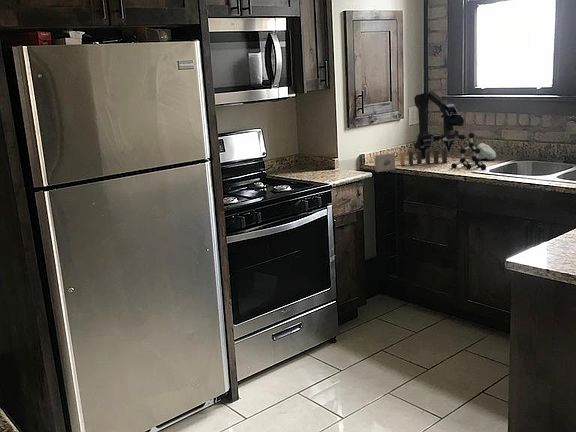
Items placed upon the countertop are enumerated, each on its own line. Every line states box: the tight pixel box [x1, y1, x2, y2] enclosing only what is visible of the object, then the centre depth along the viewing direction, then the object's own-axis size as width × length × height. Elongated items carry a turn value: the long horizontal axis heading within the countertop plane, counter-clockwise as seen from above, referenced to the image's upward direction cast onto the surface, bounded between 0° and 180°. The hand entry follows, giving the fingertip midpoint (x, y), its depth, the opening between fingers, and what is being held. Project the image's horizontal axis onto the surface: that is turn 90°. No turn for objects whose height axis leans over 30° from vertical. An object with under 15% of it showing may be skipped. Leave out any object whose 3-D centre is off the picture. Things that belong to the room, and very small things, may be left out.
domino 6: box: [441, 148, 448, 164], centre depth 374 cm, size 2×5×8 cm, turn 179°
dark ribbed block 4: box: [416, 149, 423, 165], centre depth 375 cm, size 2×5×8 cm, turn 179°
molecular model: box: [450, 132, 487, 171], centre depth 354 cm, size 18×20×20 cm
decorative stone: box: [476, 142, 497, 161], centre depth 377 cm, size 13×11×10 cm
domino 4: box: [424, 149, 431, 165], centre depth 375 cm, size 2×5×8 cm, turn 179°
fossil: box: [374, 152, 396, 173], centre depth 362 cm, size 12×4×10 cm, turn 116°
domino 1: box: [399, 150, 406, 166], centre depth 375 cm, size 2×5×8 cm, turn 179°
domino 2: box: [408, 150, 414, 166], centre depth 375 cm, size 2×5×8 cm, turn 179°
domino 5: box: [433, 149, 439, 165], centre depth 375 cm, size 2×5×8 cm, turn 179°
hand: (448, 151), depth 374 cm, fingers closed
